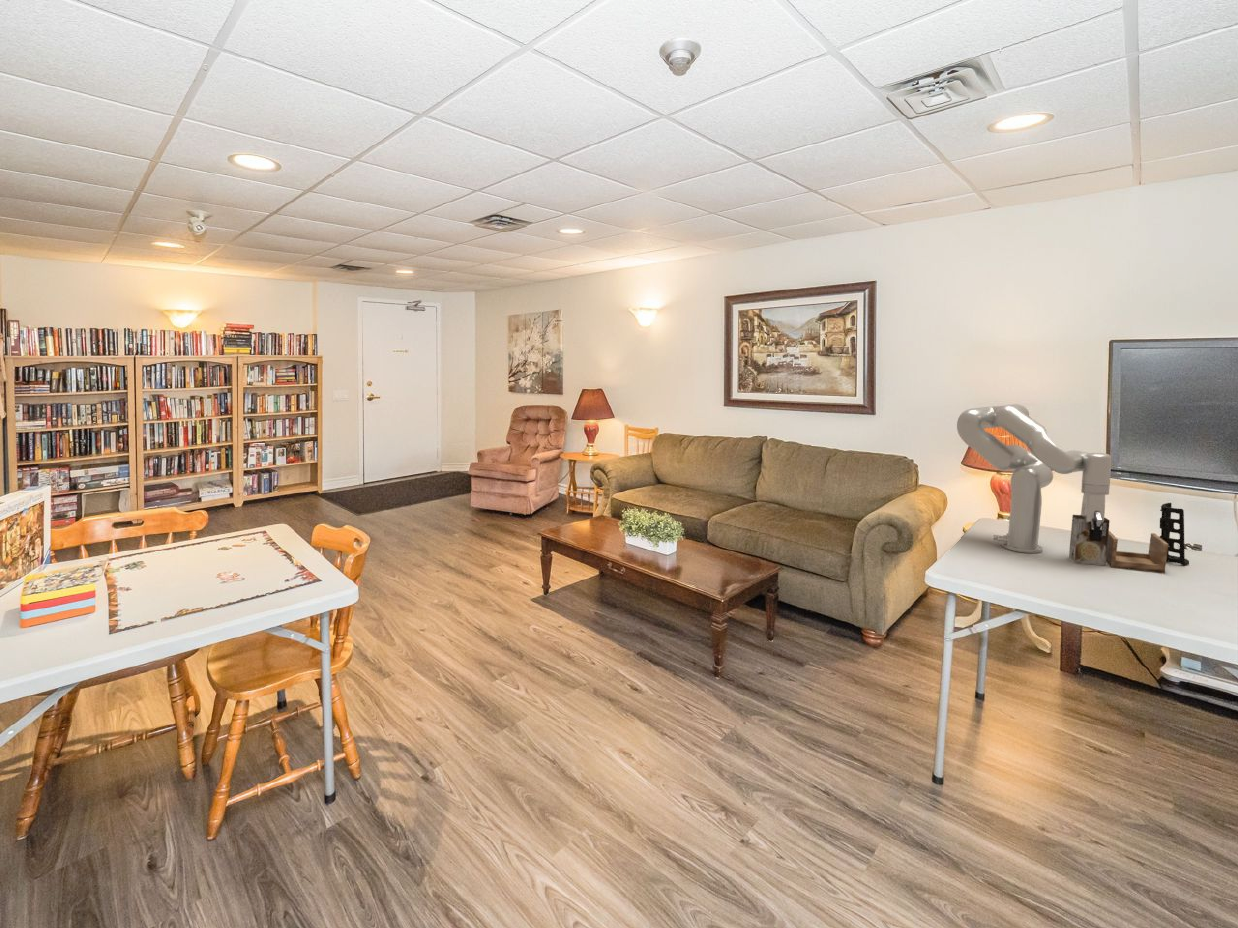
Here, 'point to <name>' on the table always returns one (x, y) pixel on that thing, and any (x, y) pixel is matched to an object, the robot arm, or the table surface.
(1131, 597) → the table surface
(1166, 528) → the holder
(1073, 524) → the coffee box
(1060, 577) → the table surface
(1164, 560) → the cradle
